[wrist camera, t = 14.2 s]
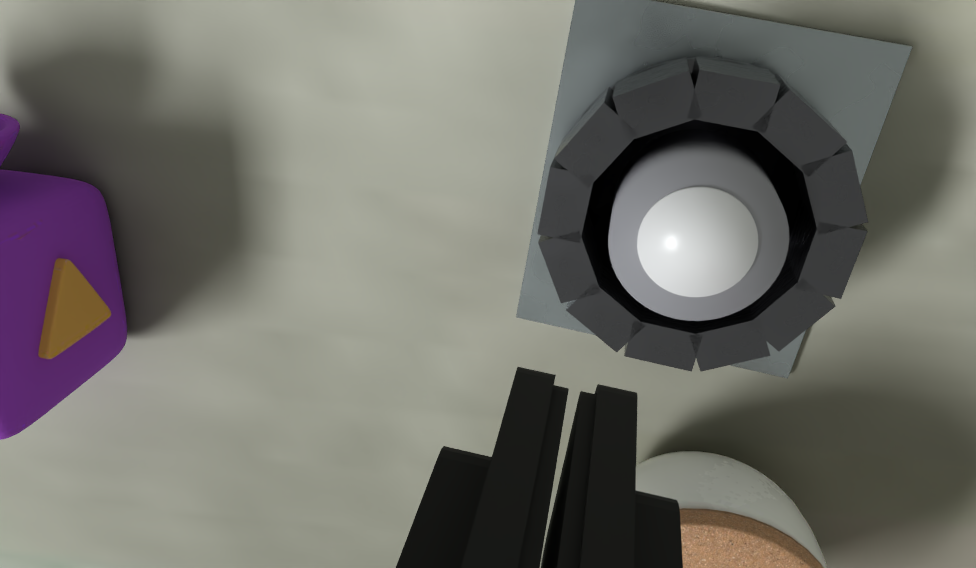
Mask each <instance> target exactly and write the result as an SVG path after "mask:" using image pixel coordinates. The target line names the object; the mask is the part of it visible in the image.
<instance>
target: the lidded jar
mask: <svg viewBox="0 0 976 568" xmlns="http://www.w3.org/2000/svg"><path fill="white" fill-rule="evenodd" d="M635 490H636V491H640V492H645V493H649V494H653V495H658V496H662V497H666V498H671V499H675V500H677V501H678V503H679V509H680V522H681V541H682V559H683V568H827V565H826V562H825V559H824V556H823V554H822V551H821V549H820V547H819V544H818V542H817V540H816V538H815V536H814V534H813V531H812V529H811V528H810V526H809V524H808V523H807V521H806V520H805V518H804V517H803V515H802V514H801V512H800V511H799V509H798V508H797V506H796V505H795V503H794V502H793V501H792V500H791V499H790V498H789V497H788V496H787V494H786V493H785V492H784V491H783V490H782V489H781V488H780V487H779V486H778V485H776V484H775V483H774V482H773V481H772V480H770V479H769V478H768V477H766V476H765V475H764V474H763V473H761V472H759V471H757V470H756V469H754V468H752V467H750V466H748V465H746V464H744V463H742V462H740V461H737V460H735V459H732V458H730V457H727V456H723V455H719V454H715V453H708V452H700V451H681V452H673V453H666V454H663V455H659V456H655V457H652V458H650V459H648V460H645V461H643V462H641V463H639V464H637V465H636V489H635Z"/></svg>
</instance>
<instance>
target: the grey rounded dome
mask: <svg viewBox="0 0 976 568" xmlns="http://www.w3.org/2000/svg"><path fill="white" fill-rule="evenodd" d="M788 245H789V226H788V221H787V216H786V213H785V211H784V208H783V205H782V203H781V201H780V199H779V197H778V195H777V193H776V190H775V188H774V186H773V184H772V182H771V180H770V178H769V175H768V173H767V171H766V169H765V168H764V166H763V164H762V162H761V161H760V160H759V158H758V157H757V156H756V155H755V154H754V153H753V152H752V151H751V150H750V149H749V148H748V147H747V146H746V145H744V144H743V143H742V142H740V141H738V140H737V139H735V138H733V137H731V136H729V135H726V134H724V133H720V132H716V131H712V130H705V129H687V130H680V131H676V132H672V133H668V134H666V135H663V136H661V137H659V138H657V139H655V140H653V141H651V142H650V143H648V144H647V145H645V146H644V147H643V148H641V149H640V150H639V151H638V152H637V153H636V154H635V155H634V156H633V157H632V158H631V159H630V161H629V162H628V163H627V165H626V166H625V168H624V169H623V171H622V173H621V175H620V177H619V179H618V182H617V185H616V188H615V193H614V200H613V207H612V214H611V221H610V228H609V235H608V248H609V256H610V260H611V263H612V267H613V269H614V271H615V274H616V276H617V278H618V279H619V281H620V282H621V284H622V286H623V287H624V288H625V289H626V290H627V292H628V293H629V294H630V295H631V296H632V297H633V298H634V299H635V300H637V301H638V302H639V303H641V304H642V305H644V306H645V307H647V308H648V309H650V310H652V311H654V312H656V313H659V314H661V315H664V316H667V317H670V318H674V319H680V320H687V321H703V320H712V319H717V318H721V317H725V316H728V315H731V314H733V313H735V312H738V311H740V310H742V309H744V308H745V307H747V306H749V305H750V304H752V303H753V302H755V301H756V300H757V299H758V298H760V297H761V296H762V295H763V294H764V293H765V292H766V291H767V290H768V289H769V288H770V286H771V285H772V284H773V283H774V281H775V280H776V278H777V277H778V275H779V273H780V271H781V269H782V267H783V265H784V262H785V259H786V256H787V252H788Z"/></svg>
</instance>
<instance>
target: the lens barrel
mask: <svg viewBox="0 0 976 568" xmlns="http://www.w3.org/2000/svg"><path fill="white" fill-rule="evenodd" d="M911 49H912V46H910V45H904V44H899V43H893V42H887V41H882V40H876V39H870V38H865V37H859V36H853V35H848V34H842V33H836V32H831V31H825V30H819V29H814V28H808V27H802V26H797V25H791V24H785V23H780V22H774V21H768V20H763V19H757V18H751V17H746V16H740V15H734V14H729V13H723V12H717V11H712V10H706V9H700V8H694V7H689V6H683V5H677V4H672V3H666V2H660V1H655V0H575V5H574V11H573V16H572V21H571V27H570V32H569V37H568V43H567V48H566V53H565V59H564V64H563V69H562V75H561V80H560V85H559V91H558V96H557V101H556V107H555V112H554V117H553V123H552V128H551V133H550V139H549V144H548V150H547V155H546V160H545V166H544V171H543V176H542V182H541V187H540V192H539V198H538V203H537V208H536V214H535V219H534V224H533V230H532V235H531V240H530V246H529V251H528V256H527V262H526V267H525V272H524V278H523V283H522V288H521V294H520V299H519V304H518V310H517V315H516V317H518V318H522V319H527V320H531V321H535V322H540V323H544V324H549V325H553V326H558V327H562V328H567V329H571V330H575V331H580V332H584V333H589V334H593V335H596V336H598V337H599V338H600V339H601V340H602V341H604V342H605V343H606V344H607V345H608V346H610V347H611V348H612V349H613V350H614V351H616V352H618V351H619V350H620V349H621V348H622V347H623V346H624V345H625V355H624V356H626V357H630V358H635V359H639V360H644V361H648V362H652V363H657V364H661V365H666V366H670V367H674V368H679V369H683V370H688V371H692V368H693V365H694V362H695V359H696V358H697V362H698V365H699V368H700V371H705V370H709V369H714V368H718V367H723V366H727V365H731V366H735V367H740V368H744V369H749V370H753V371H758V372H762V373H767V374H771V375H775V376H780V377H784V378H788V376H789V374H790V371H791V368H792V366H793V363H794V360H795V358H796V355H797V352H798V350H799V347H800V344H801V342H802V339H803V336H804V334H805V331H806V330H807V329H808V328H809V327H810V326H812V325H813V324H814V323H815V322H816V321H818V320H819V319H820V318H821V317H823V316H824V315H825V314H826V313H828V312H829V311H830V310H831V309H833V308H834V307H835V304H834V302H833V300H832V298H831V297H835V298H840V299H841V298H842V295H843V292H844V290H845V287H846V285H847V282H848V280H849V277H850V275H851V272H852V269H853V267H854V264H855V262H856V259H857V257H858V254H859V252H860V249H861V246H862V244H863V241H864V239H865V236H866V234H867V230H866V229H865V227H864V226H863V223H866V222H868V219H867V215H866V210H865V206H864V201H863V197H862V192H861V188H860V185H861V182H862V179H863V177H864V174H865V171H866V169H867V166H868V164H869V161H870V158H871V156H872V153H873V150H874V148H875V145H876V142H877V140H878V137H879V134H880V132H881V129H882V126H883V124H884V121H885V118H886V116H887V113H888V110H889V108H890V105H891V102H892V100H893V97H894V94H895V92H896V89H897V86H898V84H899V81H900V78H901V76H902V73H903V70H904V68H905V65H906V62H907V60H908V57H909V54H910V52H911ZM687 129H705V130H712V131H716V132H720V133H724V134H726V135H729V136H731V137H733V138H735V139H737V140H738V141H740V142H742V143H743V144H744V145H746V146H747V147H748V148H749V149H750V150H751V151H752V152H753V153H754V154H755V155H756V156H757V157H758V158H759V160H760V161H761V162H762V164H763V166H764V168H765V169H766V171H767V173H768V175H769V178H770V180H771V182H772V184H773V186H774V188H775V190H776V193H777V195H778V197H779V199H780V201H781V203H782V205H783V208H784V211H785V213H786V216H787V221H788V226H789V245H788V252H787V256H786V259H785V262H784V265H783V267H782V269H781V271H780V273H779V275H778V277H777V278H776V280H775V281H774V283H773V284H772V285H771V286H770V288H769V289H768V290H767V291H766V292H765V293H764V294H763V295H762V296H761V297H760V298H758V299H757V300H756V301H755V302H753V303H752V304H750V305H749V306H747V307H745V308H744V309H742V310H740V311H738V312H735V313H733V314H731V315H728V316H725V317H721V318H717V319H712V320H703V321H687V320H680V319H674V318H670V317H667V316H664V315H661V314H659V313H656V312H654V311H652V310H650V309H648V308H647V307H645V306H644V305H642V304H641V303H639V302H638V301H637V300H635V299H634V298H633V297H632V296H631V295H630V294H629V293H628V292H627V290H626V289H625V288H624V287H623V286H622V284H621V282H620V281H619V279H618V278H617V276H616V274H615V271H614V269H613V267H612V263H611V260H610V256H609V248H608V235H609V228H610V221H611V214H612V207H613V200H614V193H615V188H616V185H617V182H618V179H619V177H620V175H621V173H622V171H623V169H624V168H625V166H626V165H627V163H628V162H629V161H630V159H631V158H632V157H633V156H634V155H635V154H636V153H637V152H638V151H639V150H640V149H641V148H643V147H644V146H645V145H647V144H648V143H650V142H651V141H653V140H655V139H657V138H659V137H661V136H663V135H666V134H668V133H672V132H676V131H680V130H687Z"/></svg>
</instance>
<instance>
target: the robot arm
mask: <svg viewBox="0 0 976 568" xmlns="http://www.w3.org/2000/svg"><path fill="white" fill-rule="evenodd" d="M554 380H555V375H553V374H548V373H544V372H539V371H534V370H530V369H525V368H521V367H518V368H517V371H516V374H515V378H514V381H513V385H512V388H511V392H510V395H509V399H508V402H507V406H506V409H505V413H504V417H503V420H502V424H501V427H500V431H499V434H498V438H497V441H496V445H495V448H494V452H493V455H492V457H488V456H484V455H480V454H475V453H471V452H467V451H462V450H458V449H454V448H449V447H445V446H444V447H443V448H442V449H441V451H440V454H439V456H438V458H437V461H436V464H435V466H434V469H433V472H432V474H431V477H430V479H429V482H428V485H427V487H426V490H425V493H424V495H423V498H422V500H421V503H420V506H419V508H418V511H417V514H416V516H415V519H414V521H413V524H412V527H411V529H410V532H409V535H408V537H407V540H406V542H405V545H404V548H403V550H402V553H401V556H400V558H399V561H398V563H397V566H396V568H539V567H540V561H541V554H542V548H543V542H544V536H545V530H546V524H547V518H548V512H549V505H550V499H551V493H552V487H553V481H554V475H555V469H556V463H557V456H558V450H559V444H560V438H561V432H562V426H563V420H564V414H565V408H566V401H567V395H568V388H564V387H559V386H555V385H554ZM636 438H637V393H635V392H631V391H626V390H622V389H617V388H612V387H608V386H603V385H599V384H598V385H597V388H596V391H595V394H591V393H587V392H582V391H581V392H580V395H579V399H578V403H577V408H576V412H575V416H574V421H573V425H572V429H571V434H570V438H569V442H568V447H567V451H566V455H565V460H564V464H563V468H562V473H561V477H560V481H559V486H558V490H557V494H556V499H555V503H554V507H553V512H552V516H551V520H550V524H549V529H548V533H547V538H546V543H545V548H544V553H543V558H542V564H541V568H683V559H682V541H681V522H680V509H679V503H678V501H677V500H675V499H671V498H666V497H662V496H658V495H653V494H649V493H645V492H640V491H636V490H635V489H636Z"/></svg>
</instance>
